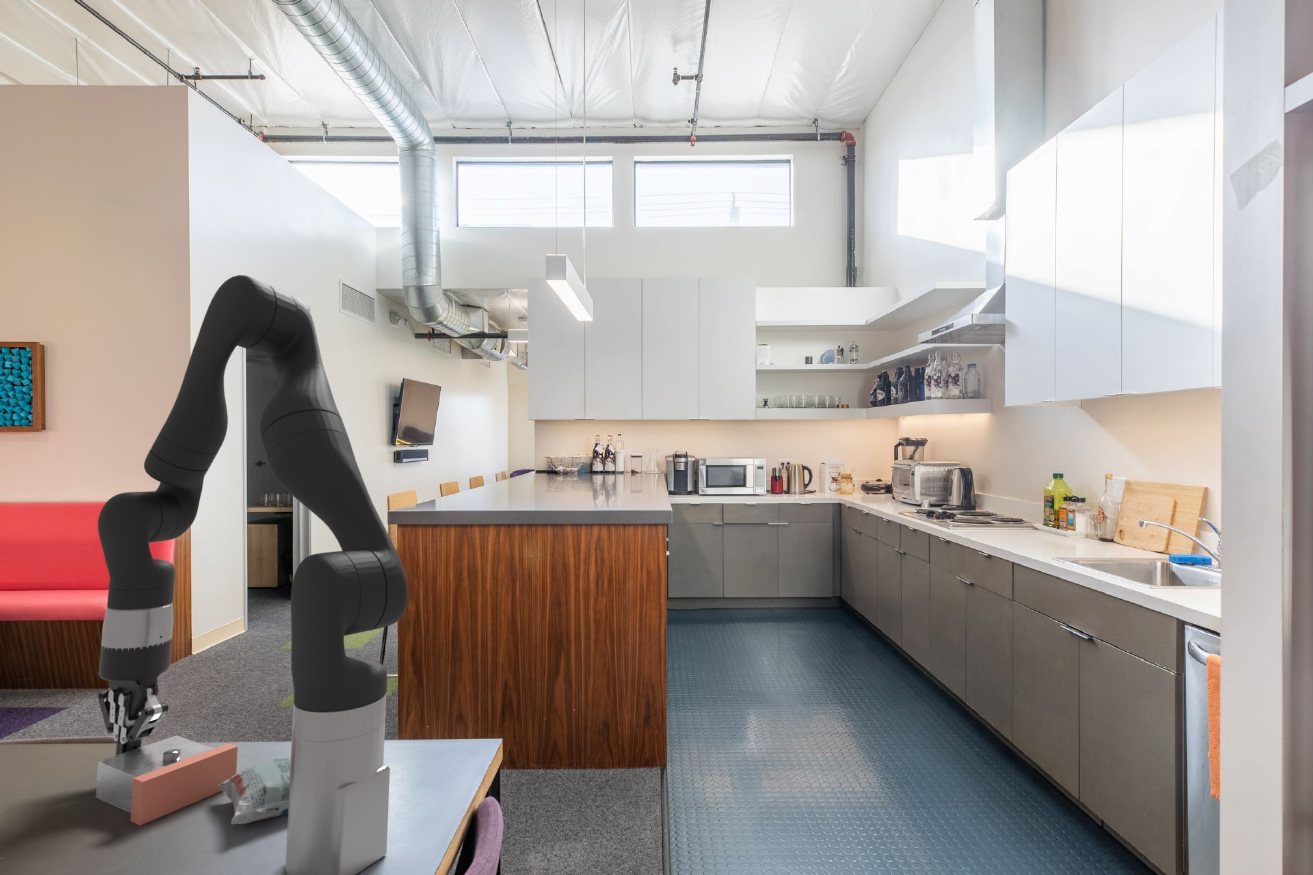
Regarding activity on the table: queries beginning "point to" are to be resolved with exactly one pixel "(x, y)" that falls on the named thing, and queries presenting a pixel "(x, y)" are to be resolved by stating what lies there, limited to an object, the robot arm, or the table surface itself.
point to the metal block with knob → (140, 767)
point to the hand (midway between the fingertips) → (126, 767)
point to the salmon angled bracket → (181, 783)
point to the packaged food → (259, 791)
